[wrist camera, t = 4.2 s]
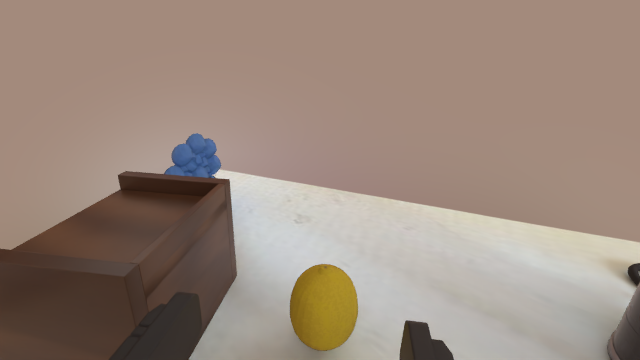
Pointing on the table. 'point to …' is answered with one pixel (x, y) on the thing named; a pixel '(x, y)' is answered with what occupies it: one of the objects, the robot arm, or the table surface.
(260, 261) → the table surface
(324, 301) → the lemon
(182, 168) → the grapes
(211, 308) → the tray
